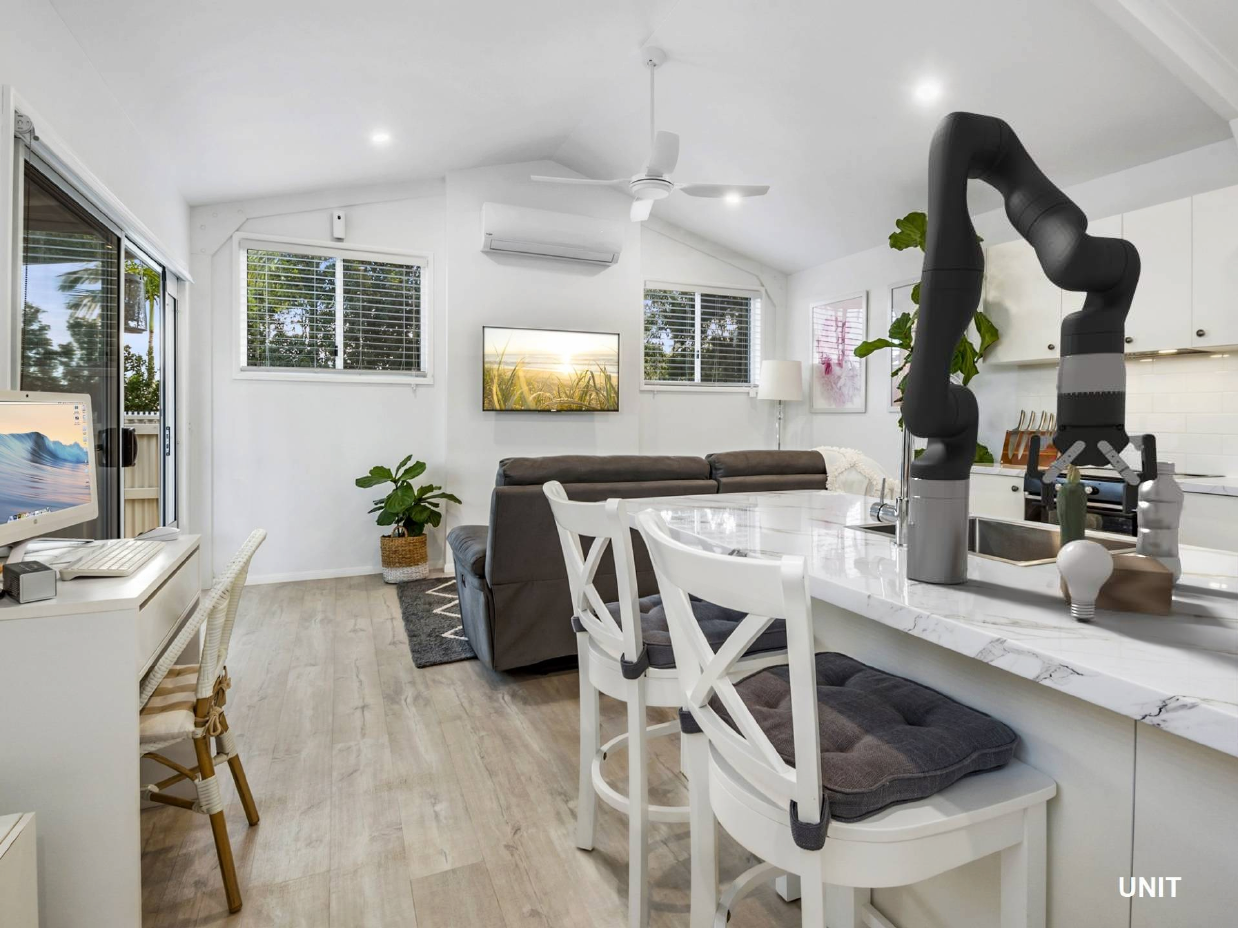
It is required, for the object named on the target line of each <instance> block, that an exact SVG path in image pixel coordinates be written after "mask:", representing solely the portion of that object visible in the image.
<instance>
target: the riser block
mask: <svg viewBox="0 0 1238 928" xmlns="http://www.w3.org/2000/svg"><path fill="white" fill-rule="evenodd" d="M1110 555H1111V557H1112V559H1113V572H1112V574H1111V576H1110V577H1109V579H1108V580H1107V581H1106V582H1105V583H1104V584H1103V585H1102V587H1101V588H1100V590H1099V594H1098V597H1097V598H1096V600H1095V604H1094V605H1095V607H1094V608H1095V609H1100V610H1101V609H1102V610H1108V611H1109V610H1110V611H1118V612H1119V611H1120V612H1130V613H1139V614H1148V615H1156V616H1157V615H1158V616H1168V617H1170V616H1172V607H1173V606H1172V601H1173V585H1174V584H1173V573H1172V572H1171V571H1170V570H1169V569H1168V568H1166V567H1165V566H1164V565H1163V564H1162V563H1161V562H1159V561H1158V560H1157V559H1156V558H1155V557H1142V556H1134V555H1127V554H1125V555H1124V554H1113V553H1112V554H1111V553H1110ZM1059 583H1060V585H1059V587H1060V591H1061V592H1062V593H1061V594H1062V595H1063V598H1064V600H1065V603H1066V605H1067V606H1071V604H1072V603H1071V596H1070V594H1069V591H1068V586H1067V584H1066V582H1065V580H1064V579H1063V577H1062V576H1061V575H1060V582H1059ZM1071 607H1072V606H1071Z"/></svg>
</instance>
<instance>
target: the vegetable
mask: <svg viewBox="0 0 1238 928" xmlns="http://www.w3.org/2000/svg"><path fill="white" fill-rule="evenodd" d="M1064 470H1066V476H1065V477H1066V481H1067V482H1066V483H1064V484H1063V485H1061V486H1060V487H1059V489H1058V491H1057V493H1056V500H1055V501H1056V514H1057V518H1058V521H1059V522H1058V523H1059V531H1060V532H1059V533H1060V534H1059V535H1060V540H1059V541H1060V542H1059V551H1060V550H1061V548H1062V547H1063V546H1065V545H1066V544H1068V543H1069V542H1072V541H1075V540H1086V521H1087V511H1088V510H1087V507H1088V495H1087V492H1086V489H1085V488H1084V486H1082V485H1081V484H1080V481H1081V478H1082V476H1081V472H1080V469H1079V468H1078V467H1076V466H1073V465H1071V464H1068V465H1067V466H1066V468H1065V469H1064Z"/></svg>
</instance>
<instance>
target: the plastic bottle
mask: <svg viewBox="0 0 1238 928" xmlns="http://www.w3.org/2000/svg"><path fill="white" fill-rule="evenodd" d="M1175 467H1176V463H1175V462H1170V461H1169V462H1166V461H1165V462H1164V461H1157V475H1158V477H1157V479H1156V480H1153V481H1147V482H1144V483H1141V484H1140V485H1139V488H1138V507H1137V509H1136V514H1137V526H1138V527H1137V537H1136V546H1135V552H1134V555H1133V556H1142V557H1155V558H1156V559H1157V560H1158V561H1159V562H1161V563H1162V564H1163V565H1164V566H1165V567H1166V568H1168V569H1169V570H1170V571H1171V572H1172V573H1173V585H1175V584H1176V583H1178V581H1179V580H1180V579H1181V576H1182V564H1181V558H1180V552H1179V549H1180V548H1179V528H1180V519H1181V516H1182V511H1183V507H1184V506H1183V505H1184V501H1185V494H1184V491H1183V489H1182V488H1181V485H1180V484H1179V483H1178V482H1177V481H1176V480H1175V478H1174V477H1173V475H1175V474H1176V471H1175V470H1176V468H1175Z"/></svg>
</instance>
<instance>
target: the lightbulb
mask: <svg viewBox="0 0 1238 928" xmlns="http://www.w3.org/2000/svg"><path fill="white" fill-rule="evenodd" d="M1110 554H1111V552H1109V550H1108V549H1107V548H1106V547H1104V546H1103V545H1102V544H1100V543H1098V542H1096V541H1093V540H1090V539H1085V540H1075V541H1072V542H1069V543H1068V544H1066V545H1065V546H1063V547H1062V548H1061V550H1060V549H1059V551H1058V553H1057V556H1056V561H1055V562H1056V568H1057V570H1058V573H1059V574H1060V577H1061V576H1062V577H1063V579H1064V580H1065V582H1066V584H1067V586H1068V591H1069V594H1070V596H1071V603H1072V604H1071V607H1070V609H1071V610H1070V615H1071V617H1073V618H1075V619H1076V620H1078V621H1080V622H1087V621H1090V620H1093V619H1094V618H1095V610H1096V608H1094V607H1095V605H1094V604H1095V600H1096V598H1097V597H1098V594H1099V590H1100V588H1101V587H1102V585H1103V584H1104V583H1105V582H1106V581H1107V580H1108V579H1109V577H1110V576H1111V574H1112V572H1113V559H1112V557H1111V555H1110Z"/></svg>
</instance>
